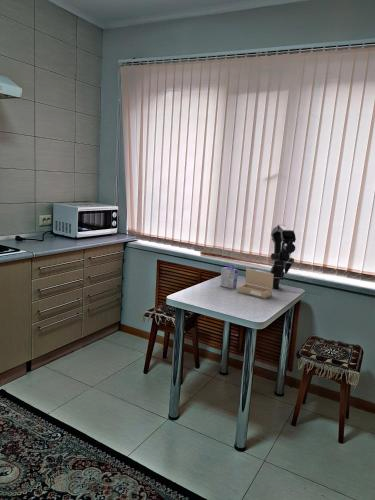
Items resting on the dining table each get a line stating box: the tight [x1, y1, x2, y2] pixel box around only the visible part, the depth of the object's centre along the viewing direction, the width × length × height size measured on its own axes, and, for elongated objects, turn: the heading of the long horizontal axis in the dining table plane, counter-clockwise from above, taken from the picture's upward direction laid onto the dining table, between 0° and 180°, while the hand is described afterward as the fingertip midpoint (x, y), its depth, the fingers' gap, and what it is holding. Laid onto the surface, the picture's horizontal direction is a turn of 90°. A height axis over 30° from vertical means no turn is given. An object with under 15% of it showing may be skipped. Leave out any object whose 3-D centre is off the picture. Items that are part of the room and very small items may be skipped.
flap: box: [244, 268, 274, 290], centre depth 243 cm, size 9×18×7 cm
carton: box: [237, 283, 273, 300], centre depth 239 cm, size 10×18×4 cm, turn 54°
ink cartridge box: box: [219, 263, 239, 289], centre depth 251 cm, size 10×6×14 cm, turn 57°
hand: (282, 274), depth 240 cm, fingers open, 9 cm apart
